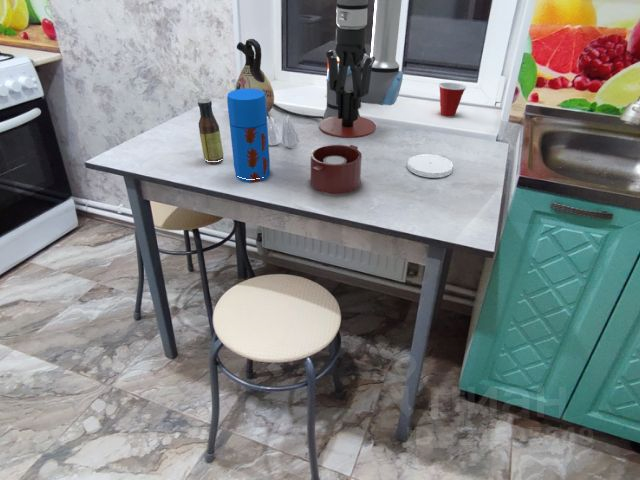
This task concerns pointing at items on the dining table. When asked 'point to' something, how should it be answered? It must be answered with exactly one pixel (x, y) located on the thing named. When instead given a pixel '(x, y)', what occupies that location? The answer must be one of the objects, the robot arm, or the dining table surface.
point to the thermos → (249, 134)
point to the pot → (336, 169)
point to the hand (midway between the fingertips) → (347, 118)
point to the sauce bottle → (209, 133)
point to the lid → (347, 122)
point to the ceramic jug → (254, 72)
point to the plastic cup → (450, 98)
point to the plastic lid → (430, 165)
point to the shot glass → (334, 160)
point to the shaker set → (288, 133)
